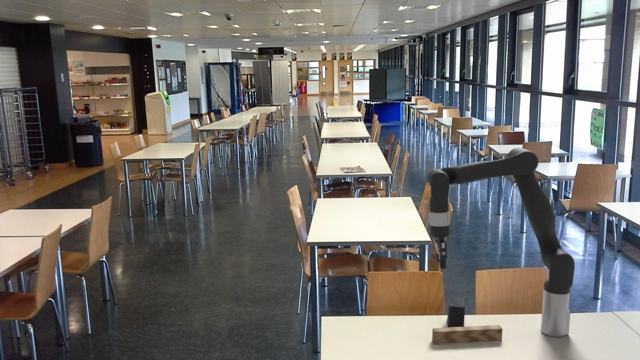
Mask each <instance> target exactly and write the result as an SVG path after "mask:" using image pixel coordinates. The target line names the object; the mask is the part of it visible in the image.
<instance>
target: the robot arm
mask: <svg viewBox="0 0 640 360" xmlns="http://www.w3.org/2000/svg"><path fill="white" fill-rule="evenodd" d="M538 166H539V158H538V156H537V154H536V153H534V151H532V150H530V149H526V148H524V147H514V148H513V149H511V150H510V151H508V153H507V156H506V157H505V158H501V159H495V160H487V161H475V162H469V163H464V164H460V165H456V166H451V167H441V168H436V169H435V168H434V169H433V170H431V171H430V172H429V173H428V174H427V177H426V180H427V184H428V185H429V186H430V198H429V201H428V202H429V216H428V219H429V221H428V222H429V236H430V237H433V239H434V240H433V242H434V252H435V254H436V255H435V256H436V257H435V258H436V262H437V263H439V269H441V270H443V269H444V270H445V269H446V268H447V259H448V248H447V247H448V246H447V245H448V244H447V241H446V239H445V238H448V237H450V236H451V218H450V217H451V216H450V206H449V195H450V186H451V185H465V184H470V183H474V182H475V183H476V182H478V181H483V180H488V179H492V178H493V179H495V178H498V177H499V178H500V177H507V176H509V177H510V176H512V177H513V179H514V181H515V183H516V186H517V188H518V192H519V195H520V198H521V200H522V204H523V207H524V211H525V214H526V216H527V219H528V221H529V224H530V226H531V228H532V231H533V233H534V235H535V238H536V241H537V243H538V246H539V251H540V255H541V258H542V259H541V260H542V263H543V265H544V266H545V268H546V269H547V270H549V274H548V279H547V280H545V281H544V283H543V292H542V293H543V294H542V295H543V296H542V309H541V322H540V331H541V333H543V334H544V335H547V336H548V337H552V338H553V337H554V338H562V337H565V336H568V335H569V334H570V323H571V310H569V309H570V307H569V305H570V294H571V293H570V291H571V288H572V286H573V284H574V276H575V268H576V265H575V264H576V263H575V262H576V261H575V259H574V258H573V256H572V255H571V254H570V253H568V252H567V251H565V250H564V249H563V247H562V246H561V243H560V241H559V238H558V237H557V234H556V215H555V212H554V210H553V207H552V204H551V201H550V199H549V198H548V195H547V194H546V192H545V191H544V189H543V188H542V186H541V185H540V183H539V182H538V180H537V177H536V175H535V171H536V170H537V168H538Z"/></svg>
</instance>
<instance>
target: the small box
mask: <svg viewBox="0 0 640 360" xmlns="http://www.w3.org/2000/svg"><path fill="white" fill-rule="evenodd" d="M447 305H448V306H447V319H446V322H447V324H446V325H447V326H446V328H449V327H465V315H466V314H465V313H466V307H465V305H466V304H465V299H464V296H463V297H462V296H452V295H448V304H447Z"/></svg>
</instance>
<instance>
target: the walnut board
mask: <svg viewBox="0 0 640 360" xmlns="http://www.w3.org/2000/svg"><path fill="white" fill-rule="evenodd" d="M431 334H432V336H431V340H432V342H433V344H434V345H449V344H467V343H468V344H469V343H470V344H471V343H487V342H502V341H503V327H502V326H501V325H499V324H493V325H473V326H464V327H449V328H448V327H432V333H431Z"/></svg>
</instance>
